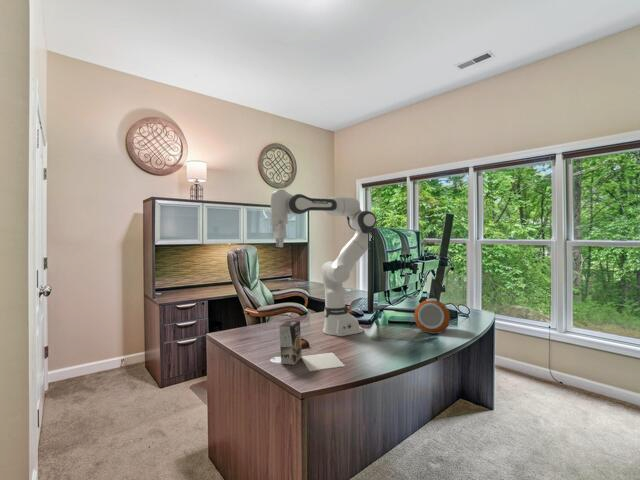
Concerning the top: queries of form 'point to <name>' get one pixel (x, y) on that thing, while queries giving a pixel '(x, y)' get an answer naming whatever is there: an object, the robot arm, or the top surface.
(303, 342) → the sunglasses case
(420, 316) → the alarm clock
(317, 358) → the felt pad
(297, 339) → the coffee box
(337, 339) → the top surface
